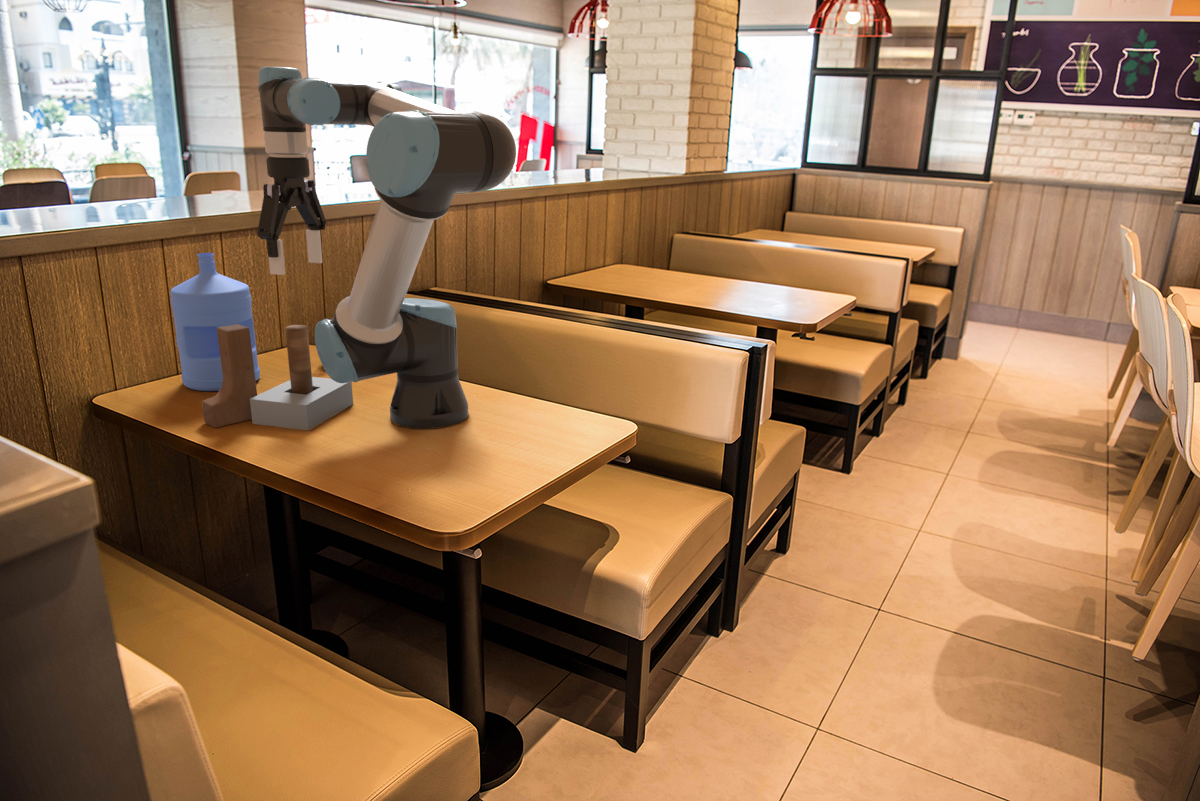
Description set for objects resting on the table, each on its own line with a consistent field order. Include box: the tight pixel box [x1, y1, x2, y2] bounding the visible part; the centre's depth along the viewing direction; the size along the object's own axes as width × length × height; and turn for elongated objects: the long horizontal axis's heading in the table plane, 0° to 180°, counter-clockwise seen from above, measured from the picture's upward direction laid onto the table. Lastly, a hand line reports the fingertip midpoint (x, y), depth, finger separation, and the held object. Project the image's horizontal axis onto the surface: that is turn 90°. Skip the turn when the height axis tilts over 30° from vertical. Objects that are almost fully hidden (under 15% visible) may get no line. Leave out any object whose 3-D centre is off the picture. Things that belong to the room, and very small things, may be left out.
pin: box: [284, 324, 313, 395], centre depth 160 cm, size 4×4×16 cm
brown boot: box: [201, 324, 258, 429], centre depth 156 cm, size 9×4×18 cm, turn 137°
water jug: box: [169, 252, 261, 392], centre depth 177 cm, size 16×16×28 cm
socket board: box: [250, 376, 354, 431], centre depth 162 cm, size 16×12×5 cm
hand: (297, 268), depth 162 cm, fingers open, 13 cm apart
